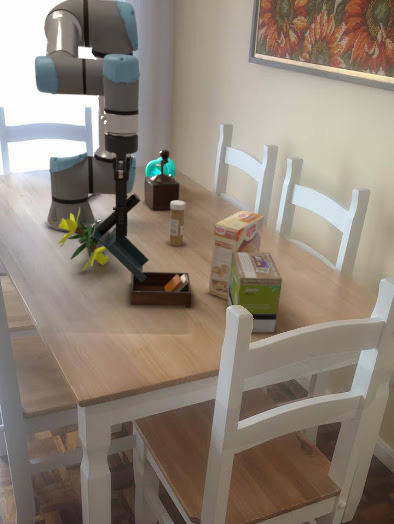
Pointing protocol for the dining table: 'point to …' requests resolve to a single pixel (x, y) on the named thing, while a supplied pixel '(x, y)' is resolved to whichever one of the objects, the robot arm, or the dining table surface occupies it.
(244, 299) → the tea box
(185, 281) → the block
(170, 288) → the sachet orange
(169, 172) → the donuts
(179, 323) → the dining table surface
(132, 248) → the green tray with post
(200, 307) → the dining table surface
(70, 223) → the daffodil flowers
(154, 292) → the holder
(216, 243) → the coffeecake box
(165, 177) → the wooden coffee grinder
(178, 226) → the spice jar
